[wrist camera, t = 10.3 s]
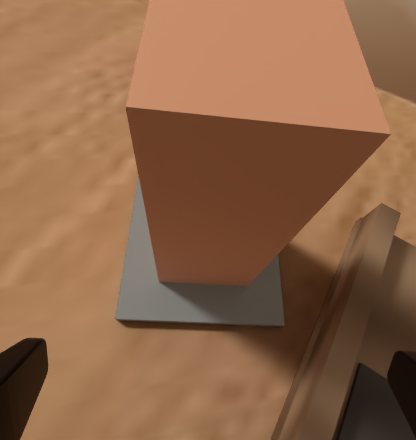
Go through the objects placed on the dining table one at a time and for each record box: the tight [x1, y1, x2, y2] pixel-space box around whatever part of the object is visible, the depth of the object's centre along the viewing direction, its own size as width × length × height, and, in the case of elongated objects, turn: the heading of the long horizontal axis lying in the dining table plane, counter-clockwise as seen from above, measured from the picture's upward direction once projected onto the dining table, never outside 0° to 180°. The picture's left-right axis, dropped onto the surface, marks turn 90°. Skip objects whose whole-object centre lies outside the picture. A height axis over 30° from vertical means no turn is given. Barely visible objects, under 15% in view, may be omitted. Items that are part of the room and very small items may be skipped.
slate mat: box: [115, 176, 285, 327], centre depth 17 cm, size 9×9×1 cm
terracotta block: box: [126, 0, 391, 287], centre depth 12 cm, size 5×5×12 cm
